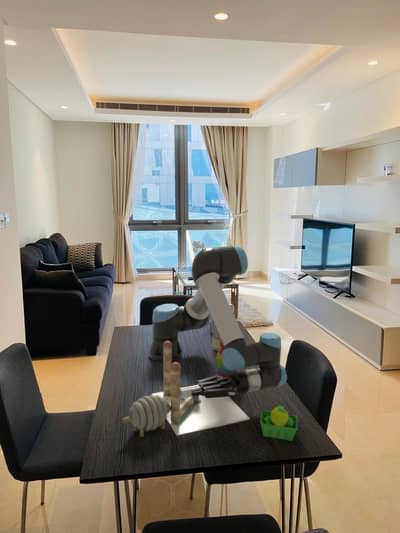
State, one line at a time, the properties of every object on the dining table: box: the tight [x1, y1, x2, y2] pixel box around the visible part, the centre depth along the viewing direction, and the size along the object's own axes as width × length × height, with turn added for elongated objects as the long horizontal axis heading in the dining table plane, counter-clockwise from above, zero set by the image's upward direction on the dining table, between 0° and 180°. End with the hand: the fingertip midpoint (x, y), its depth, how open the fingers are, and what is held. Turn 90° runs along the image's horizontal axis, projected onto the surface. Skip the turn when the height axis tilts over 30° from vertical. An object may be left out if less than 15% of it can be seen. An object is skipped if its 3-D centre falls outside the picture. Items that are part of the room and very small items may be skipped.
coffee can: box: [211, 319, 221, 352], centre depth 199 cm, size 10×10×14 cm
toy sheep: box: [121, 394, 171, 438], centre depth 130 cm, size 11×17×11 cm, turn 130°
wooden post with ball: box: [162, 341, 199, 403], centre depth 149 cm, size 15×3×21 cm, turn 66°
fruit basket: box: [259, 405, 299, 441], centre depth 129 cm, size 11×9×11 cm
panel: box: [170, 361, 194, 423], centre depth 138 cm, size 14×3×20 cm, turn 155°
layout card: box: [151, 391, 251, 437], centre depth 146 cm, size 28×26×1 cm
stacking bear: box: [215, 340, 240, 377], centre depth 167 cm, size 11×10×18 cm
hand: (180, 393), depth 134 cm, fingers closed
